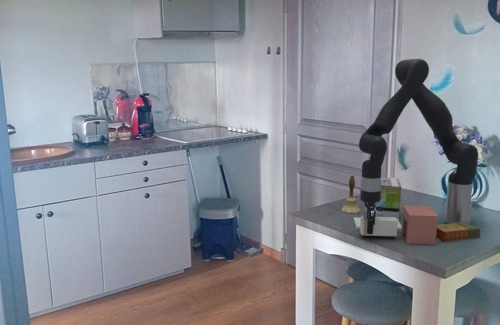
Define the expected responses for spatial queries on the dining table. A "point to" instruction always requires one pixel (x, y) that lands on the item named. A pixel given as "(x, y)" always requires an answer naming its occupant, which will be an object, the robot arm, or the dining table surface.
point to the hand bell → (351, 200)
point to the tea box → (389, 198)
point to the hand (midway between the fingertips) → (368, 231)
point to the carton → (457, 231)
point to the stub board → (358, 220)
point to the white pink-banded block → (380, 226)
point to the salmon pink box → (419, 224)
